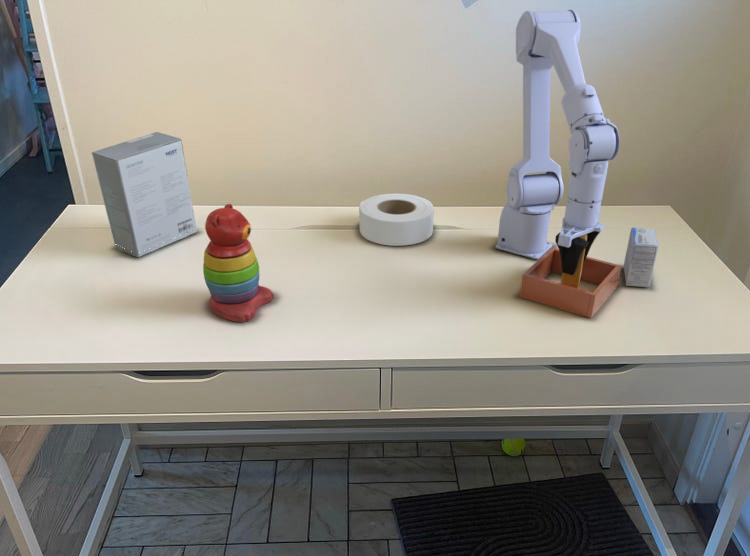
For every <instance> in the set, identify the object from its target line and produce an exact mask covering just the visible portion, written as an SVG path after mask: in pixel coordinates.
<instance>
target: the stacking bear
mask: <svg viewBox="0 0 750 556" xmlns="http://www.w3.org/2000/svg"><path fill="white" fill-rule="evenodd" d="M204 227H205V233H206V236H207V237H208V239H209V242H208V244H207V245H206V248H205V250H204V252H203V253H204V254H203V264H202V272H203V279H204V282H205V285H206V288H207V290H208V291H209V294H210V295H211V296H210V298H209V308H210V310H211V311H212V312H213V313H214V314H216V315H217V316H218V317H221V318H222V319H225V320H229V321H232V322H238V323H245V322H249V321H251V320H253V319H254V318H255V317H256V311H257V309H259V307H261V306H263V305H266V304H269V303H271V302H272V301H273V300H274V297H275V296H274V293H273V291H272V290H271V289H270V288H268V287H266V286H262V285H260V284H259V283H260V264H259V261H258V258H257V255H256V252H255V250H254V248H253V245H252V243H251V241H250V240H249V237H250V235H251V232H252V226H251V223H250V221H249V220H248V219H247V217H245V215H244V214H242V212H241V211H239V210H238V209H236V208H234V206H233V205H232V203H227V204H225V205H224V207H220V208H216V209H214V210H213V211H211V212H210V213H209V214H208V216H207V217H206V219H205V223H204Z"/></svg>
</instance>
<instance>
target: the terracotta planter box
mask: <svg viewBox="0 0 750 556" xmlns="http://www.w3.org/2000/svg"><path fill="white" fill-rule="evenodd" d="M621 270H622V265H620V264H616V263H613V262H609V261H605V260H601V259H598V258H594V257H590V256H587V257H586V260H585V262H584V264H583V266H582V272H581V278H580V280H583V281H586V282H589V283H594V284H596V285H597V284H598V286H597V287H596V288H595V289H594V290H593V292H591V291H589V290H584V289H581V288H574V287H571V286H567V285H564V284H561V282H556V281H553V280H549V279H546V277H547V276H548V275H549V274H550V273H551V272H554V273H558V274H561V275H562V273H563V272H562V265H561V256H560V251H559V248H556V247H553V246H552V247H551V248H550V249H549V250H548V251H547V252H546V253H545V254H543V255H542V256H541V257H540V258H539V259H537V260H536V262H535V263H533V264H532V265H531V266H530V267H529V268H528V269H526V271H525V272H524V273H522V275H521V283H520V291H519V298H523V299H526V300H530V301H533V302H536V303H540V304H541V305H542V304H543V305H546V306H548V307H553V308H556V309H560V310H562V311H565V312H569V313H572V314H576V315H579V316H582V317H586V318H589V319H592V318H593V317H594V316H595V315H596V313H597V312H598V311H599V310H600V308H601V307H603V305H604V304H605V303H606V301H607V300H608V299H609V298H610V296H611V295H612V294H613V292H615V290H616V289H617V288H618V285H619V280H620V274H621Z"/></svg>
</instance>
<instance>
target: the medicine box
mask: <svg viewBox="0 0 750 556" xmlns="http://www.w3.org/2000/svg"><path fill="white" fill-rule="evenodd" d="M628 237H629V238H628V243H627V246H626V247H627V248H626V252H625V257H624V262H623V273H624V280H625V286H628V287H637V288H646V289H648V288H650V286H651V282H652V277H653V273H654V269H655V264H656V261H657V256H658V255H657V254H658V250H659V243H658V239H657V234H656V230H655V229H654V228H647V227H631V228H630V233H629V236H628Z"/></svg>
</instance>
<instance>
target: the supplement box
mask: <svg viewBox="0 0 750 556" xmlns="http://www.w3.org/2000/svg"><path fill="white" fill-rule="evenodd" d="M579 238H580V240H583V241H587V234H585V235H582V236H579ZM584 253H585V249H584V251H583V253H582V255H581V257H580V260H579V263H578V267H577V269H576V272H575V273H574V275H570V274H566V273H562V274H561V280H560V284H564V285H567V286H571V287H574V288H578V289H580V283H581V279H580V278H581V272H582V266H583V259H584Z"/></svg>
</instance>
